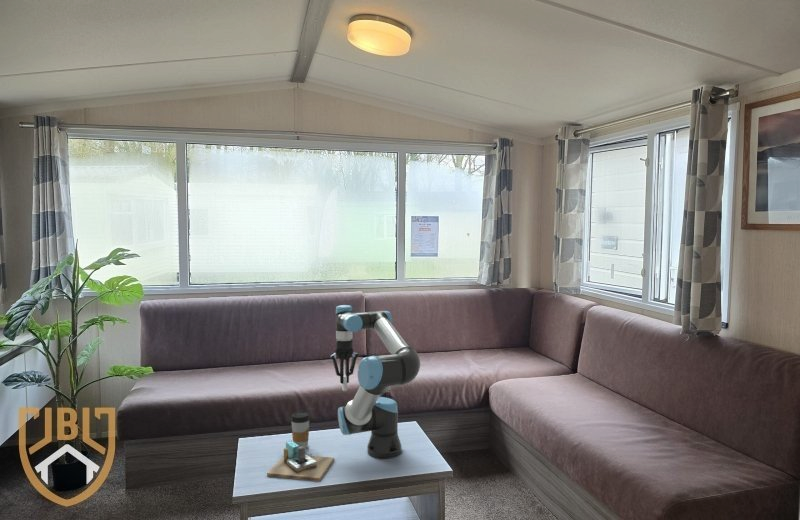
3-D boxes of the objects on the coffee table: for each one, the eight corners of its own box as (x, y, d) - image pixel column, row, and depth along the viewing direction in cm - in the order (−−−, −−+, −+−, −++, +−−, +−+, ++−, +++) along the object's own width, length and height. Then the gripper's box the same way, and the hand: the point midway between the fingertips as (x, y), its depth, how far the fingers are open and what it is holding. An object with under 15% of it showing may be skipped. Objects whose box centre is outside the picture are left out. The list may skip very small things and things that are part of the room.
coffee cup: (305, 451, 223) (305, 418, 223) (288, 450, 225) (287, 417, 224) (312, 444, 232) (312, 411, 231) (295, 442, 233) (295, 410, 232)
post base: (334, 460, 215) (334, 440, 215) (319, 481, 197) (319, 459, 197) (285, 456, 219) (285, 437, 219) (267, 476, 201) (266, 455, 201)
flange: (298, 452, 220) (297, 438, 219) (316, 465, 208) (316, 450, 207) (279, 457, 214) (278, 444, 214) (297, 471, 202) (296, 457, 201)
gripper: (356, 336, 237) (356, 386, 238) (328, 338, 232) (328, 389, 234) (360, 339, 230) (360, 391, 231) (331, 342, 225) (332, 394, 227)
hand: (344, 390), depth 232 cm, fingers closed
